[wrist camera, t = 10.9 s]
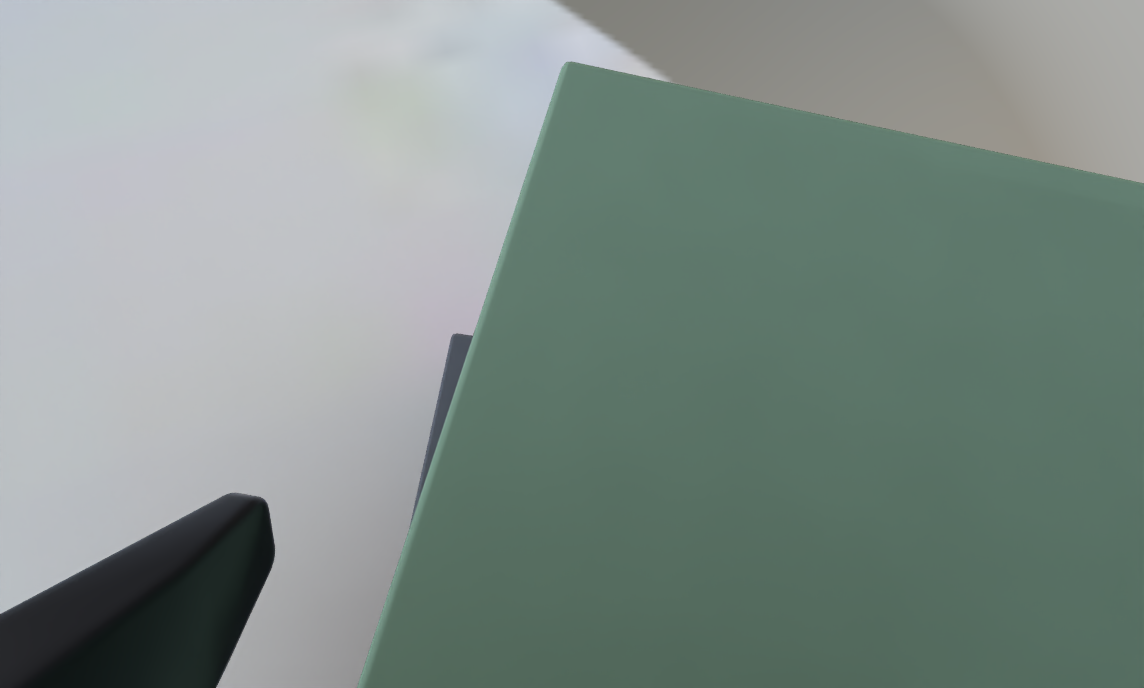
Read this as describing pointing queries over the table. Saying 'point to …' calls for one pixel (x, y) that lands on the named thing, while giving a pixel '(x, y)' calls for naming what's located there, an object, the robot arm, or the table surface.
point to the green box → (785, 416)
